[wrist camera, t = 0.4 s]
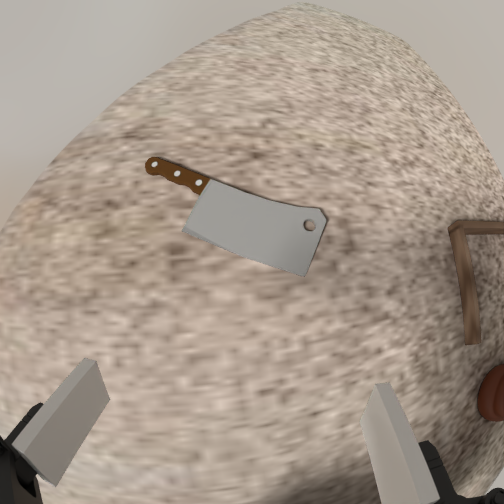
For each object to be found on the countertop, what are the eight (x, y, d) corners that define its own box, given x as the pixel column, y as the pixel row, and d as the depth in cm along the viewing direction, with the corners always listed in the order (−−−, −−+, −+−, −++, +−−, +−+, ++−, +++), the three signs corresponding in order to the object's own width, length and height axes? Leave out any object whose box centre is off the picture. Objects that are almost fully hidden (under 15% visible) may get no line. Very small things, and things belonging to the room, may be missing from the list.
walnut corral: (521, 323, 24) (531, 321, 22) (465, 345, 25) (477, 344, 22) (504, 228, 29) (513, 222, 27) (447, 227, 29) (457, 220, 27)
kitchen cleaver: (116, 204, 31) (159, 143, 33) (120, 207, 32) (161, 147, 34) (297, 298, 27) (334, 216, 30) (296, 299, 28) (332, 219, 30)
